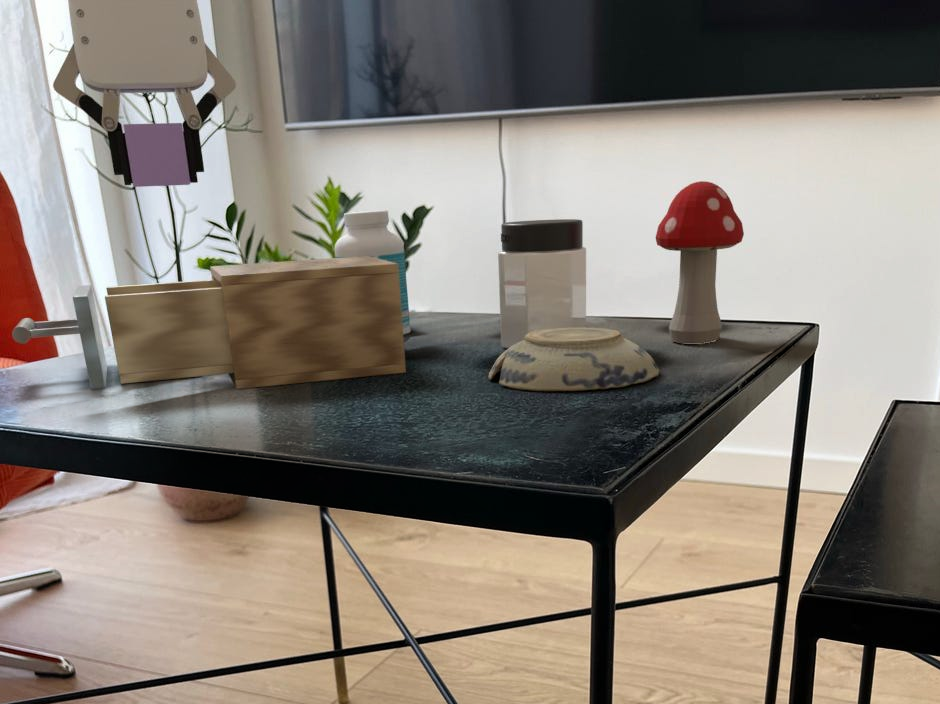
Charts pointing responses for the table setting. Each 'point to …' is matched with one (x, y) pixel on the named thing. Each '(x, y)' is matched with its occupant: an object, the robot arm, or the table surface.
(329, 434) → the table surface
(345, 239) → the pill bottle
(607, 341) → the decorative bowl
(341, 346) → the cabinet
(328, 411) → the table surface
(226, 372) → the drawer
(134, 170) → the cube
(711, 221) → the decorative mushroom
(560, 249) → the jar
